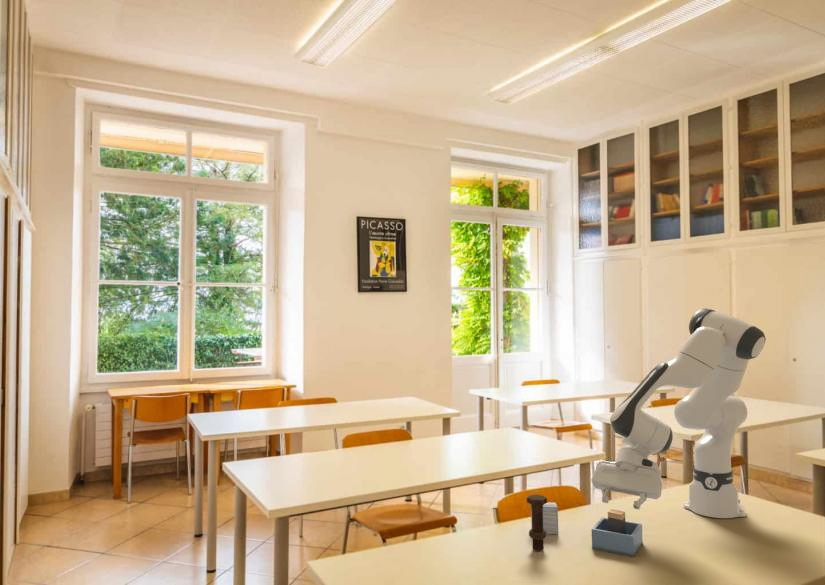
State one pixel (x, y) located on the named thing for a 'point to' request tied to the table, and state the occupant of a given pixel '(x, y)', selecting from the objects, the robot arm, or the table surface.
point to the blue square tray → (617, 538)
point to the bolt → (537, 521)
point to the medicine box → (549, 518)
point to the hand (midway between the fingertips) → (620, 504)
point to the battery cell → (616, 521)
